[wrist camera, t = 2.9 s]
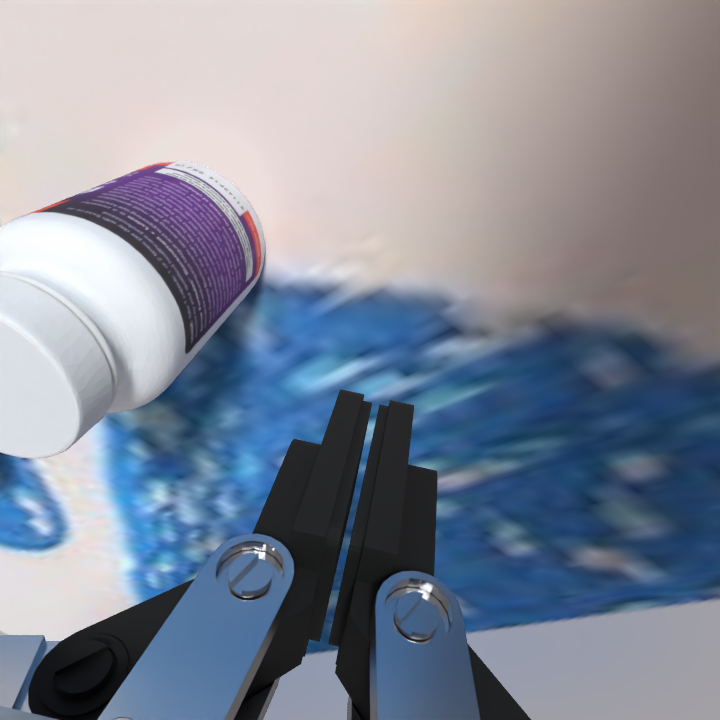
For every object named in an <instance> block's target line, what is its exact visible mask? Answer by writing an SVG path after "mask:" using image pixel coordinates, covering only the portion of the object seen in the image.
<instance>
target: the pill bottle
mask: <svg viewBox="0 0 720 720" xmlns="http://www.w3.org/2000/svg"><path fill="white" fill-rule="evenodd" d="M264 256H265V243H264V235H263V231H262V227H261V224H260V221H259V218H258V216H257V214H256V212H255V210H254V208H253V206H252V205H251V203H250V202H249V200H248V199H247V198H246V196H245V195H244V194H243V193H242V192H241V191H240V189H239V188H238V187H237V186H236V185H234V184H233V183H232V182H231V181H230V180H229V179H227V178H226V177H225V176H223V175H222V174H220V173H218V172H217V171H215V170H213V169H211V168H209V167H206V166H204V165H201V164H198V163H194V162H189V161H179V160H175V161H165V162H160V163H156V164H153V165H150V166H147V167H144V168H141V169H139V170H136V171H134V172H131V173H129V174H126V175H124V176H122V177H119V178H117V179H114V180H112V181H109V182H107V183H105V184H102V185H99V186H97V187H94V188H92V189H90V190H87V191H84V192H82V193H79V194H77V195H75V196H73V197H70V198H67V199H65V200H62V201H60V202H57V203H55V204H52V205H50V206H47V207H45V208H42V209H40V210H37V211H34V212H32V213H29V214H27V215H24V216H21V217H19V218H17V219H14V220H13V221H11V222H9V223H7V224H4V225H3V226H1V227H0V452H1V453H4V454H8V455H12V456H16V457H22V458H46V457H51V456H54V455H57V454H59V453H62V452H64V451H66V450H67V449H68V448H70V447H71V446H72V445H73V444H74V443H76V442H77V441H78V440H79V439H80V438H81V437H82V436H83V435H84V434H85V433H86V432H87V431H88V430H90V429H91V428H92V427H93V426H94V425H95V424H96V423H98V422H99V421H100V420H101V419H102V418H103V417H104V415H105V414H106V413H117V412H124V411H129V410H132V409H135V408H138V407H140V406H143V405H145V404H147V403H149V402H150V401H152V400H154V399H155V398H156V397H158V396H159V395H160V394H161V393H162V392H163V391H165V389H166V388H167V387H168V386H169V385H170V384H171V383H172V382H173V381H174V380H175V379H176V378H177V377H178V376H179V375H180V373H181V372H182V371H183V370H184V369H185V367H186V366H187V365H188V364H189V363H190V362H191V361H192V359H193V358H194V357H195V356H196V355H197V353H198V352H199V351H200V350H201V349H202V347H203V346H204V345H205V344H206V343H207V341H208V340H209V339H210V338H211V337H212V336H213V334H214V333H215V332H216V331H217V330H218V329H219V327H220V326H221V325H222V324H223V323H224V322H225V320H226V319H227V318H228V317H229V316H230V315H231V313H232V312H233V311H234V310H235V309H236V308H237V307H238V305H239V304H240V303H241V302H242V301H243V300H244V298H245V297H246V296H247V294H248V293H249V292H250V290H251V289H252V288H253V286H254V285H255V283H256V282H257V280H258V278H259V276H260V274H261V271H262V267H263V263H264Z"/></svg>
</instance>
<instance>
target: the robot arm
mask: <svg viewBox="0 0 720 720" xmlns="http://www.w3.org/2000/svg"><path fill="white" fill-rule="evenodd" d="M363 399H364V394H360V393H355V392H350V391H346V390H340V392H339V395H338V397H337V400H336V403H335V406H334V409H333V412H332V415H331V418H330V421H329V424H328V427H327V429H326V432H325V435H324V438H323V441H322V444H321V445H319V444H314V443H310V442H306V441H301V440H297V439H294V440H293V441H292V442H291V444H290V447H289V449H288V451H287V454H286V456H285V458H284V461H283V463H282V465H281V468H280V470H279V472H278V475H277V477H276V479H275V482H274V484H273V487H272V489H271V491H270V494H269V496H268V498H267V501H266V503H265V505H264V508H263V510H262V512H261V515H260V517H259V520H258V522H257V524H256V527H255V529H254V531H253V534H244V535H240V536H237V537H234V538H231V539H230V540H228V541H226V542H225V543H223V544H221V545H220V546H219V547H218V548H217V549H216V550H215V552H214V553H213V554H212V555H211V556H210V558H209V559H208V561H207V562H206V564H205V565H204V567H203V568H202V569H201V571H200V572H199V574H198V575H197V577H196V578H195V579H193V580H191V581H188V582H186V583H184V584H182V585H180V586H177V587H175V588H173V589H171V590H169V591H166V592H164V593H162V594H160V595H158V596H155V597H153V598H151V599H149V600H147V601H144V602H142V603H140V604H138V605H136V606H133V607H131V608H129V609H127V610H125V611H122V612H120V613H118V614H116V615H113V616H111V617H109V618H107V619H105V620H102V621H100V622H98V623H96V624H94V625H91V626H89V627H87V628H85V629H83V630H80V631H78V632H76V633H74V634H73V635H71V636H69V637H68V638H66V639H64V640H62V641H46V640H45V637H44V635H0V720H263V718H264V716H265V713H266V711H267V709H268V706H269V704H270V702H271V699H272V697H273V695H274V693H275V690H276V688H277V686H278V682H279V678H280V677H281V676H282V675H284V674H286V673H287V672H289V671H290V670H292V669H294V668H295V667H296V666H298V665H300V664H301V661H302V657H303V656H304V657H305V653H306V649H307V645H308V641H309V639H311V640H315V641H320V637H321V633H322V629H323V624H324V620H325V616H326V611H327V607H328V603H329V598H330V594H331V590H332V585H333V581H334V576H335V572H336V568H337V563H338V559H339V555H340V550H341V546H342V542H343V537H344V533H345V529H346V524H347V520H348V515H349V511H350V507H351V502H352V498H353V493H354V488H355V484H356V479H357V474H358V469H359V464H360V459H361V454H362V449H363V445H364V440H365V435H366V430H367V425H368V420H369V415H370V410H371V406H372V403H371V402H366V401H363ZM413 412H414V405H410V404H405V403H401V402H396V401H392V400H390V403H389V406H384V405H379V410H378V414H377V419H376V424H375V428H374V433H373V438H372V442H371V447H370V452H369V456H368V461H367V465H366V470H365V475H364V479H363V484H362V489H361V493H360V498H359V503H358V507H357V512H356V517H355V521H354V526H353V531H352V536H351V540H350V545H349V550H348V554H347V559H346V564H345V568H344V573H343V578H342V582H341V587H340V592H339V597H338V601H337V606H336V611H335V615H334V620H333V625H332V629H331V634H330V639H329V643H328V644H331V645H335V646H339V649H338V655H337V660H336V665H337V666H336V671H335V673H336V675H337V676H338V678H339V679H340V681H341V683H342V684H343V686H344V687H345V689H346V691H347V693H348V694H349V699H348V710H347V711H348V712H347V720H531V719H530V718H529V717H528V716H527V714H526V713H525V712H524V711H523V710H522V708H521V707H520V706H519V705H518V704H517V702H516V701H515V700H514V699H513V698H512V696H511V695H510V694H509V693H508V692H507V690H506V689H505V688H504V687H503V686H502V684H501V683H500V682H499V681H498V680H497V678H496V677H495V676H494V675H493V674H492V672H491V671H490V670H489V669H488V668H487V666H486V665H485V664H484V663H483V662H482V660H481V659H480V658H479V657H478V656H477V655H476V653H475V652H474V651H473V650H472V648H471V647H470V646H469V645H468V644H467V639H466V633H465V627H464V622H463V616H462V612H461V609H460V606H459V603H458V600H457V599H456V597H455V596H454V594H453V593H452V591H451V590H450V589H449V588H448V587H447V586H446V585H445V584H444V583H442V582H441V581H440V580H438V579H437V578H435V577H434V560H435V532H436V504H437V471H435V470H430V469H426V468H421V467H417V466H412V465H408V457H409V448H410V439H411V430H412V421H413Z"/></svg>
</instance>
